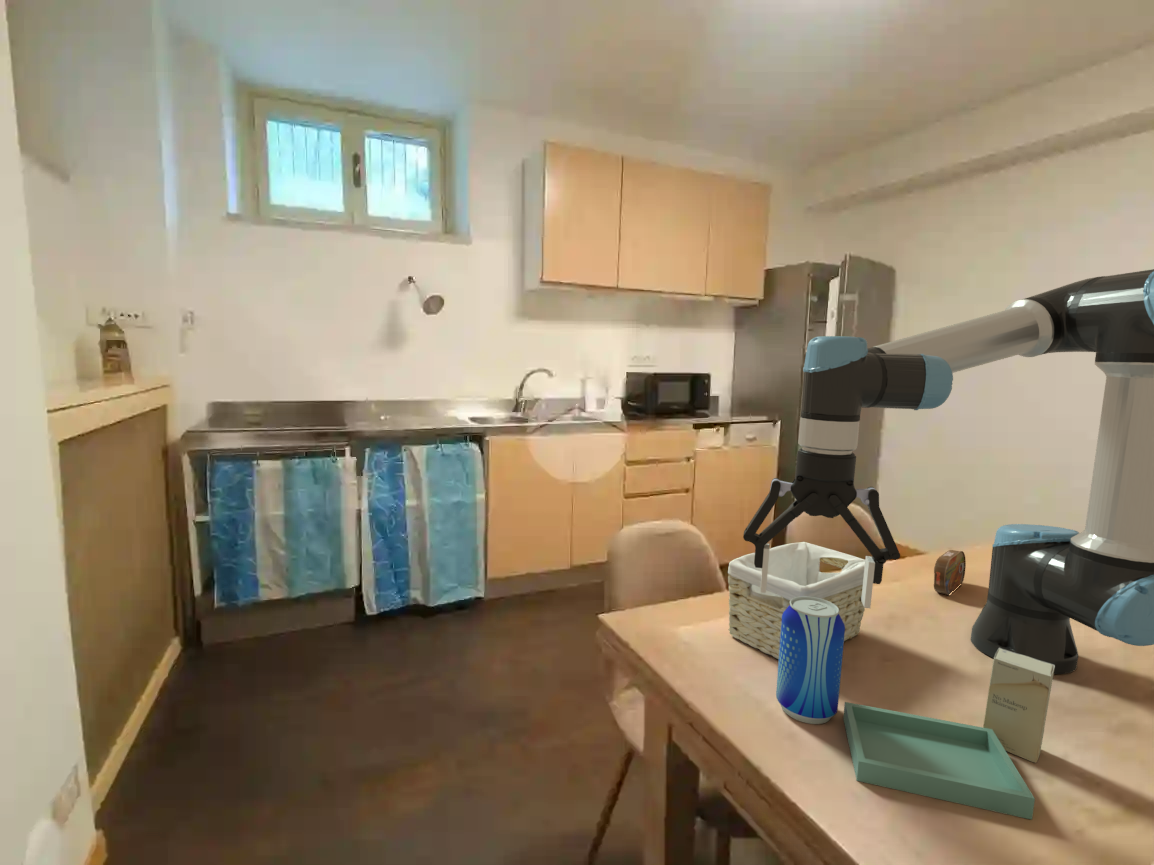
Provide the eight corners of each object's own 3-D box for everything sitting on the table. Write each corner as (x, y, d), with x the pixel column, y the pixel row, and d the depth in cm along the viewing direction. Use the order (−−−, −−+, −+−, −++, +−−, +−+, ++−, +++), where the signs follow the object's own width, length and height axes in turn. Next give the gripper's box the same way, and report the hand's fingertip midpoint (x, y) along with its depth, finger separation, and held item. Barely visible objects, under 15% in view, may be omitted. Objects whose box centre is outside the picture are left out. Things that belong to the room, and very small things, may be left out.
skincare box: (980, 741, 79) (990, 657, 77) (986, 727, 82) (996, 646, 80) (1039, 765, 74) (1051, 676, 73) (1043, 749, 78) (1055, 663, 76)
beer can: (843, 731, 80) (853, 621, 78) (779, 722, 82) (787, 614, 80) (829, 697, 88) (838, 597, 86) (772, 689, 90) (779, 591, 88)
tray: (989, 747, 78) (992, 729, 77) (1031, 819, 65) (1034, 798, 65) (843, 718, 83) (844, 701, 83) (856, 780, 71) (858, 761, 70)
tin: (944, 600, 126) (949, 562, 125) (928, 595, 129) (932, 558, 127) (965, 583, 136) (969, 548, 135) (950, 579, 139) (953, 545, 137)
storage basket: (794, 605, 121) (799, 537, 119) (871, 636, 109) (879, 560, 107) (719, 636, 107) (723, 559, 105) (798, 676, 94) (804, 589, 92)
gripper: (921, 453, 80) (905, 600, 83) (734, 439, 87) (725, 574, 90) (937, 462, 73) (918, 622, 75) (731, 446, 80) (721, 592, 83)
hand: (813, 596), depth 83 cm, fingers open, 13 cm apart
